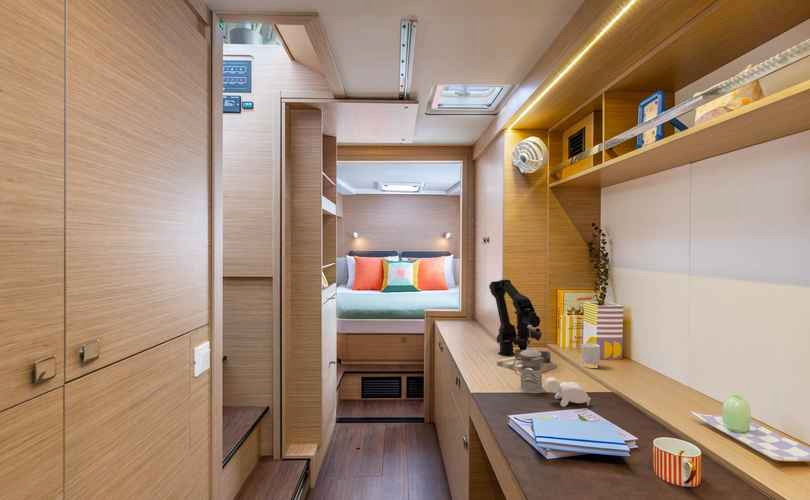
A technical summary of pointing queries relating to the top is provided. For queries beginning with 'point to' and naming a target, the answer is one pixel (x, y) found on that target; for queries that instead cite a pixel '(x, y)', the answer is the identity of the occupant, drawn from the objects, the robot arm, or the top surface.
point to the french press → (530, 372)
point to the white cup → (590, 353)
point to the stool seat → (518, 364)
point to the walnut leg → (543, 354)
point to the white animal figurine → (567, 391)
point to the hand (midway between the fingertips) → (524, 355)
